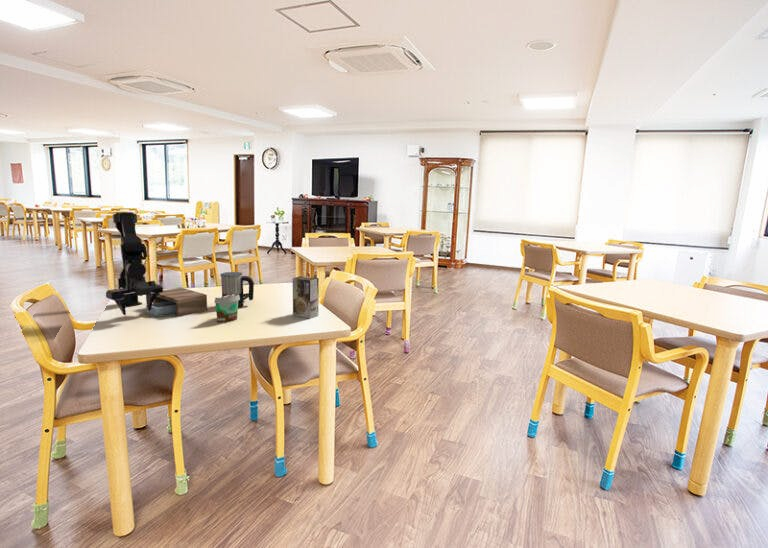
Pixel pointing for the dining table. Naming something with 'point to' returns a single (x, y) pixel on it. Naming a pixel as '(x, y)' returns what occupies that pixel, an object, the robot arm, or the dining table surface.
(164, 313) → the blue-gray rectangular tray
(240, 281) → the milk frother
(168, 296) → the walnut overhang
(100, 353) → the dining table surface
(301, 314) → the coffee box
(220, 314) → the food container
